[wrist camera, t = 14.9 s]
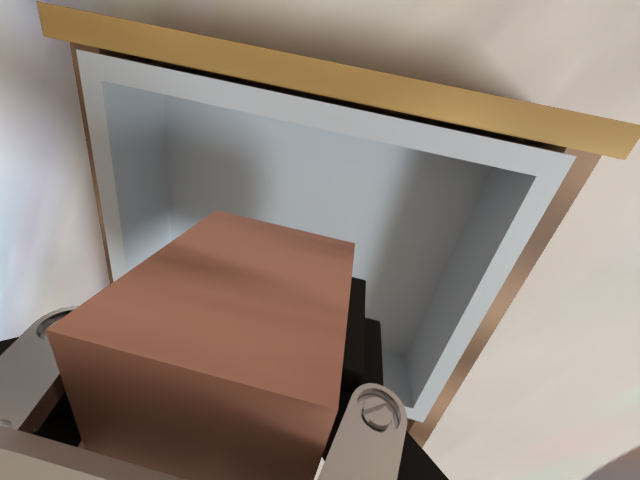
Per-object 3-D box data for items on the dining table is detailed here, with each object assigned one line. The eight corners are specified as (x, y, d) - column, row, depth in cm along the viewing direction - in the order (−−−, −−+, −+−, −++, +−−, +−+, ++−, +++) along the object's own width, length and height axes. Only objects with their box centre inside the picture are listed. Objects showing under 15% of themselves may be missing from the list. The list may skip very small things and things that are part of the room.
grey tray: (412, 358, 19) (423, 422, 15) (170, 294, 20) (122, 339, 16) (514, 141, 13) (576, 156, 9) (157, 64, 14) (76, 49, 10)
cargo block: (326, 346, 12) (292, 540, 7) (213, 317, 12) (94, 480, 7) (355, 243, 10) (337, 410, 5) (215, 209, 10) (45, 330, 5)
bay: (397, 421, 23) (404, 497, 19) (165, 357, 24) (119, 414, 20) (552, 119, 13) (647, 126, 9) (141, 33, 14) (36, 1, 10)
